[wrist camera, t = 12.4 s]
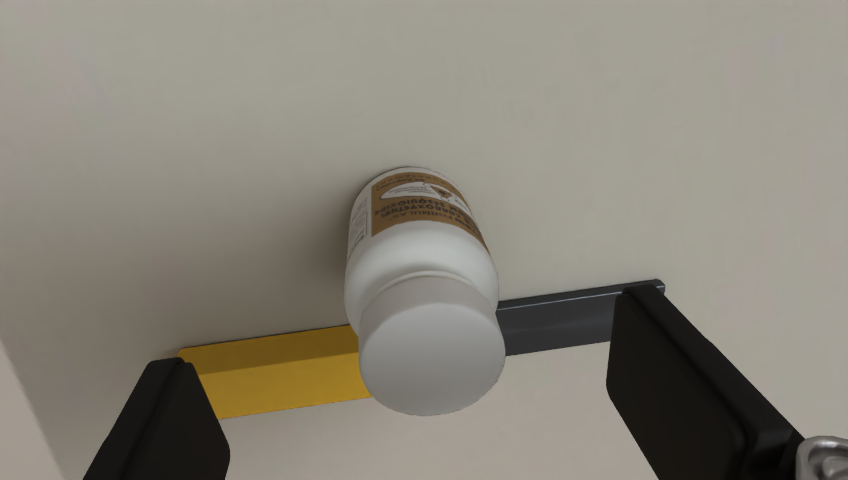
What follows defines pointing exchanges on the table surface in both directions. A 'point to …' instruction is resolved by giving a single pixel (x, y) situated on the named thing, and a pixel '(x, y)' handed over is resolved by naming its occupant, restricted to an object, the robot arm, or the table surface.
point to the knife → (339, 353)
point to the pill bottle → (421, 295)
